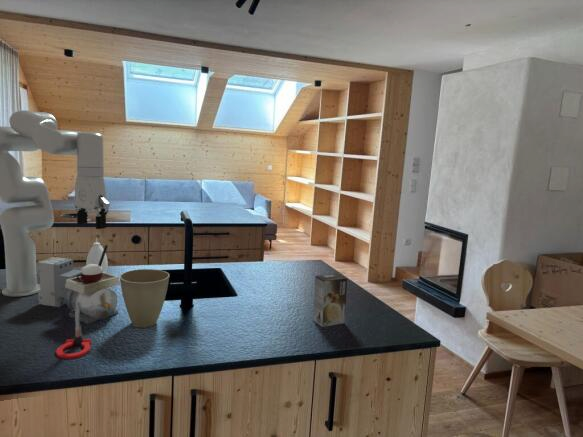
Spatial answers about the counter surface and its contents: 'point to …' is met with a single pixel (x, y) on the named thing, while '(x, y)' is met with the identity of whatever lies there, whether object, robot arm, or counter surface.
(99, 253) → the sauce bottle
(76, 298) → the clear storage container
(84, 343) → the tow hook
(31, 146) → the robot arm
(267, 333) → the counter surface
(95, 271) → the cocoa
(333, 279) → the coffee box
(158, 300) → the plant pot
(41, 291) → the circuit breaker
